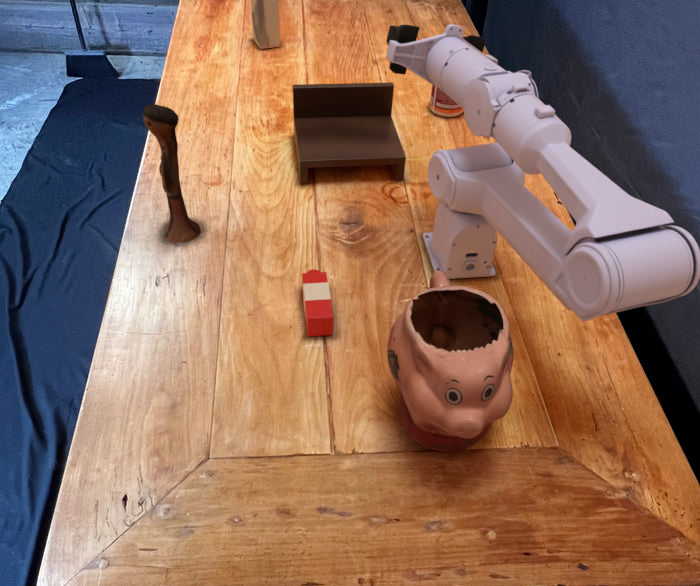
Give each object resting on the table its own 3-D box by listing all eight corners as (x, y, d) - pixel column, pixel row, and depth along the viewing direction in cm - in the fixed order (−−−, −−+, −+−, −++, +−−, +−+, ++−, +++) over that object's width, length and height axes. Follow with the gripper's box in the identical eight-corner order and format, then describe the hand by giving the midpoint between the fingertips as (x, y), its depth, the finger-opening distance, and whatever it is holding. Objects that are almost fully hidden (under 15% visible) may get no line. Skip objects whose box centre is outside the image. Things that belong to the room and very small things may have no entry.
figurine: (166, 214, 89) (140, 90, 76) (202, 213, 89) (182, 90, 76) (162, 247, 84) (132, 120, 71) (200, 245, 84) (177, 119, 71)
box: (252, 40, 130) (247, -29, 121) (272, 37, 132) (269, -31, 122) (261, 50, 127) (256, -20, 118) (281, 47, 129) (278, -23, 119)
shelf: (403, 180, 97) (409, 126, 90) (300, 184, 95) (298, 129, 89) (388, 134, 106) (392, 82, 100) (294, 137, 105) (292, 84, 98)
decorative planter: (365, 341, 74) (373, 248, 63) (464, 332, 75) (488, 239, 65) (403, 491, 60) (420, 404, 50) (522, 475, 62) (563, 387, 52)
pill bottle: (470, 113, 113) (482, 50, 104) (443, 121, 110) (453, 57, 102) (448, 99, 116) (458, 37, 108) (422, 106, 114) (430, 44, 105)
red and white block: (333, 335, 74) (333, 316, 72) (307, 337, 74) (306, 318, 72) (325, 283, 80) (325, 265, 78) (301, 285, 80) (300, 266, 78)
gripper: (525, 46, 74) (472, 13, 83) (418, 28, 68) (374, -5, 78) (504, 105, 78) (456, 68, 88) (401, 93, 73) (361, 55, 82)
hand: (416, 38), depth 83 cm, fingers open, 7 cm apart
